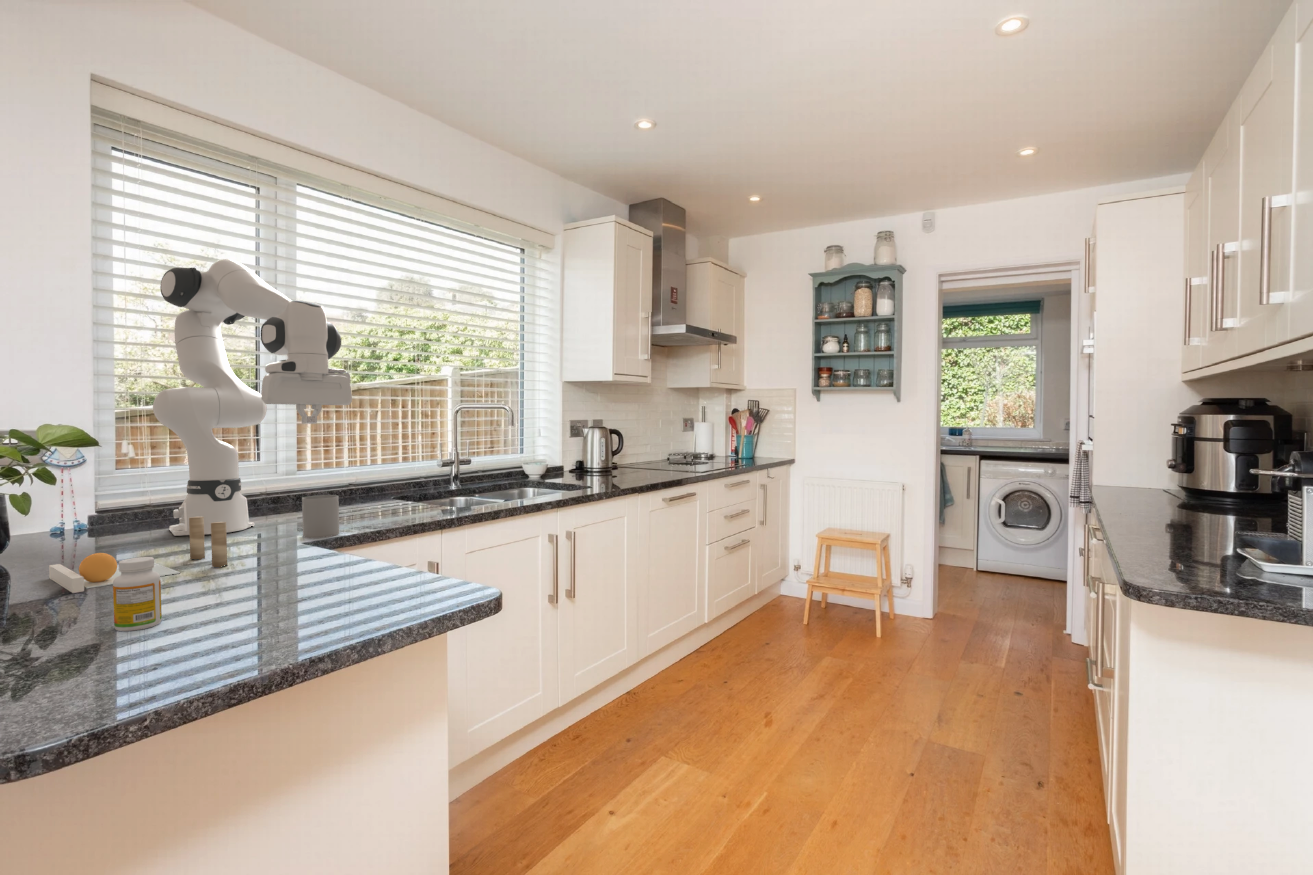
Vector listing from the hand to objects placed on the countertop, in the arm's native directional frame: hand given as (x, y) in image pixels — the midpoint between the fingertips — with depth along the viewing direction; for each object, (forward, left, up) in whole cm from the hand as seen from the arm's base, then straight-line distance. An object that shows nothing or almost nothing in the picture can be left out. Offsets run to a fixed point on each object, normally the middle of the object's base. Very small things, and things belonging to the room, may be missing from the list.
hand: (309, 423), depth 158 cm
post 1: (0, -24, -29) cm, 38 cm away
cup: (-8, +6, -29) cm, 31 cm away
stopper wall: (+6, -46, -29) cm, 55 cm away
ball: (+8, -42, -26) cm, 51 cm away
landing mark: (+6, -38, -29) cm, 48 cm away
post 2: (+12, -24, -29) cm, 40 cm away
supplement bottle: (+47, -46, -29) cm, 72 cm away
